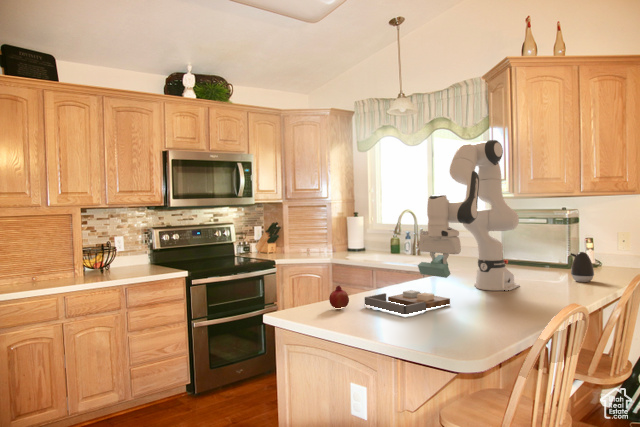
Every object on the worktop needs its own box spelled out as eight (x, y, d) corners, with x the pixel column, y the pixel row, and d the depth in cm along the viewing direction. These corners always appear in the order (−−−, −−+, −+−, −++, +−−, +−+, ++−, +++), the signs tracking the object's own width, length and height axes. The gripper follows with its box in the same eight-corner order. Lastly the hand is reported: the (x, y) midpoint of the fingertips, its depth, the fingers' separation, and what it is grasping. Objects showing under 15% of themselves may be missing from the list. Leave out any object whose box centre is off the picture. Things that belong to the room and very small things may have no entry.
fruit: (351, 311, 179) (350, 286, 179) (331, 312, 178) (330, 288, 178) (346, 306, 187) (346, 283, 187) (328, 308, 186) (327, 284, 186)
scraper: (432, 263, 201) (429, 253, 199) (458, 266, 189) (455, 256, 188) (420, 274, 196) (417, 264, 195) (446, 277, 185) (442, 267, 183)
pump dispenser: (571, 279, 234) (571, 250, 234) (595, 280, 228) (594, 251, 227) (569, 282, 226) (568, 252, 225) (593, 283, 219) (592, 253, 219)
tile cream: (425, 297, 187) (425, 292, 187) (434, 299, 183) (434, 294, 183) (417, 299, 184) (416, 294, 184) (426, 301, 180) (426, 296, 180)
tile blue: (411, 294, 194) (410, 290, 194) (419, 296, 189) (419, 291, 189) (403, 296, 191) (402, 291, 191) (411, 298, 187) (411, 293, 187)
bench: (414, 298, 200) (413, 291, 200) (450, 305, 183) (449, 298, 183) (388, 303, 190) (388, 296, 190) (423, 312, 174) (423, 304, 174)
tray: (385, 303, 191) (384, 293, 191) (426, 312, 173) (425, 301, 173) (364, 307, 185) (364, 297, 185) (405, 318, 166) (404, 306, 166)
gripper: (415, 231, 199) (416, 261, 199) (452, 233, 182) (454, 266, 183) (424, 230, 202) (425, 260, 203) (462, 231, 186) (463, 264, 186)
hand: (439, 263), depth 193 cm, fingers closed on scraper, 3 cm apart
